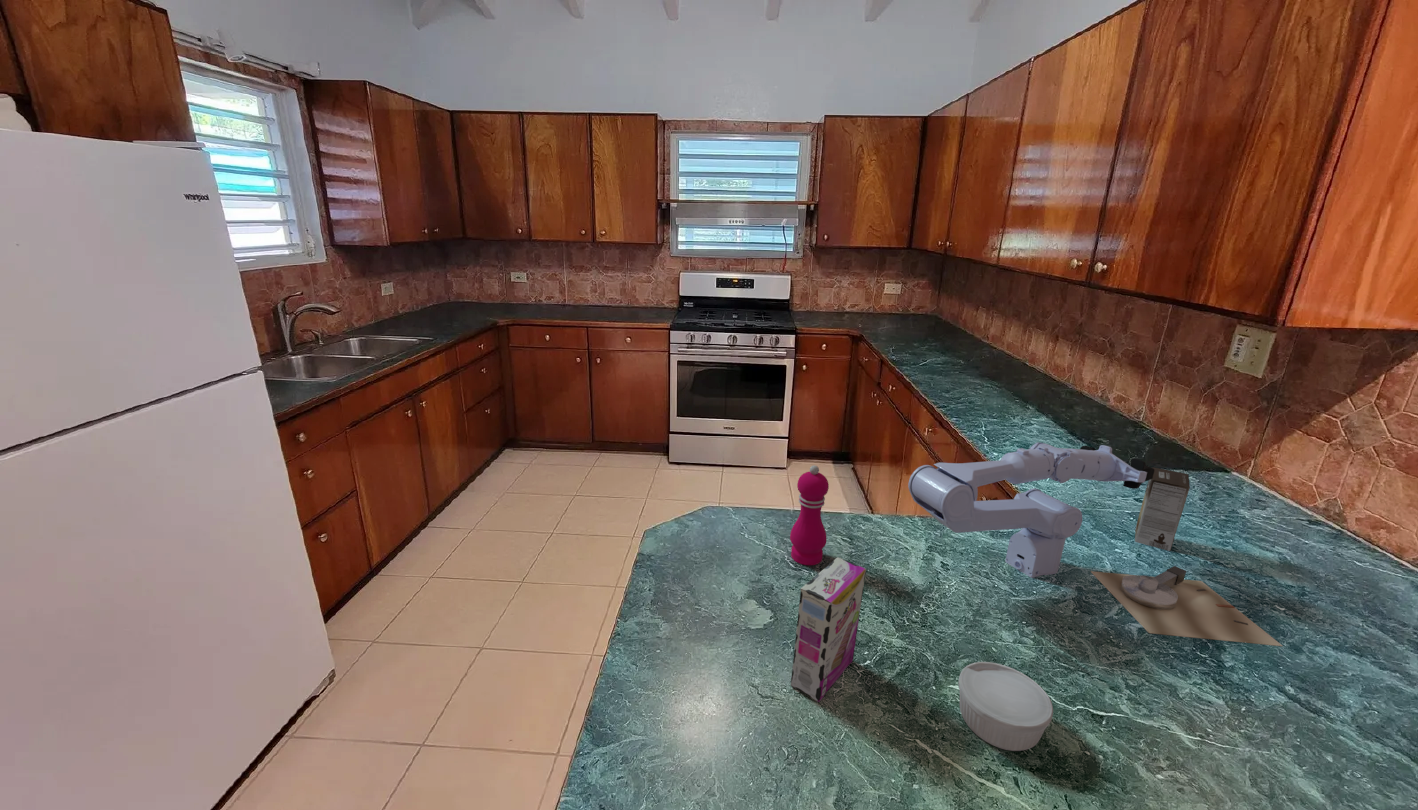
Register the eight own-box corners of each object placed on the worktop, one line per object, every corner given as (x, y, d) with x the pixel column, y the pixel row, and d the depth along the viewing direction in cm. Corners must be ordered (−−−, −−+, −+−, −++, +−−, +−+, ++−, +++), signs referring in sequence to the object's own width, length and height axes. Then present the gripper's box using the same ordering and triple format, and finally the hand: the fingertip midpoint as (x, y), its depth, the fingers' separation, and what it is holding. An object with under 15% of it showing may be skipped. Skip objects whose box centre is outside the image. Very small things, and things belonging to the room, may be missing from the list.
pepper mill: (824, 569, 108) (834, 475, 103) (787, 564, 110) (794, 470, 104) (824, 550, 115) (833, 460, 109) (789, 545, 116) (796, 457, 111)
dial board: (1147, 639, 92) (1149, 632, 91) (1089, 576, 109) (1090, 570, 108) (1280, 652, 89) (1283, 645, 89) (1199, 586, 107) (1201, 580, 106)
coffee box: (1133, 530, 127) (1151, 465, 123) (1169, 539, 124) (1188, 473, 119) (1132, 546, 120) (1151, 478, 116) (1170, 557, 117) (1191, 487, 112)
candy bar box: (820, 705, 76) (831, 603, 72) (789, 687, 79) (797, 588, 75) (855, 661, 85) (867, 567, 80) (826, 646, 88) (836, 554, 83)
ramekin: (1015, 690, 80) (1022, 660, 79) (1065, 760, 69) (1074, 726, 68) (939, 690, 80) (944, 660, 78) (977, 760, 69) (985, 727, 68)
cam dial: (1161, 614, 95) (1167, 596, 94) (1111, 589, 102) (1116, 571, 101) (1202, 591, 102) (1208, 574, 101) (1152, 569, 109) (1157, 553, 108)
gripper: (1129, 454, 99) (1176, 458, 104) (1055, 435, 113) (1100, 439, 118) (1119, 492, 100) (1166, 494, 105) (1046, 468, 114) (1092, 471, 119)
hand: (1131, 467), depth 111 cm, fingers open, 7 cm apart
